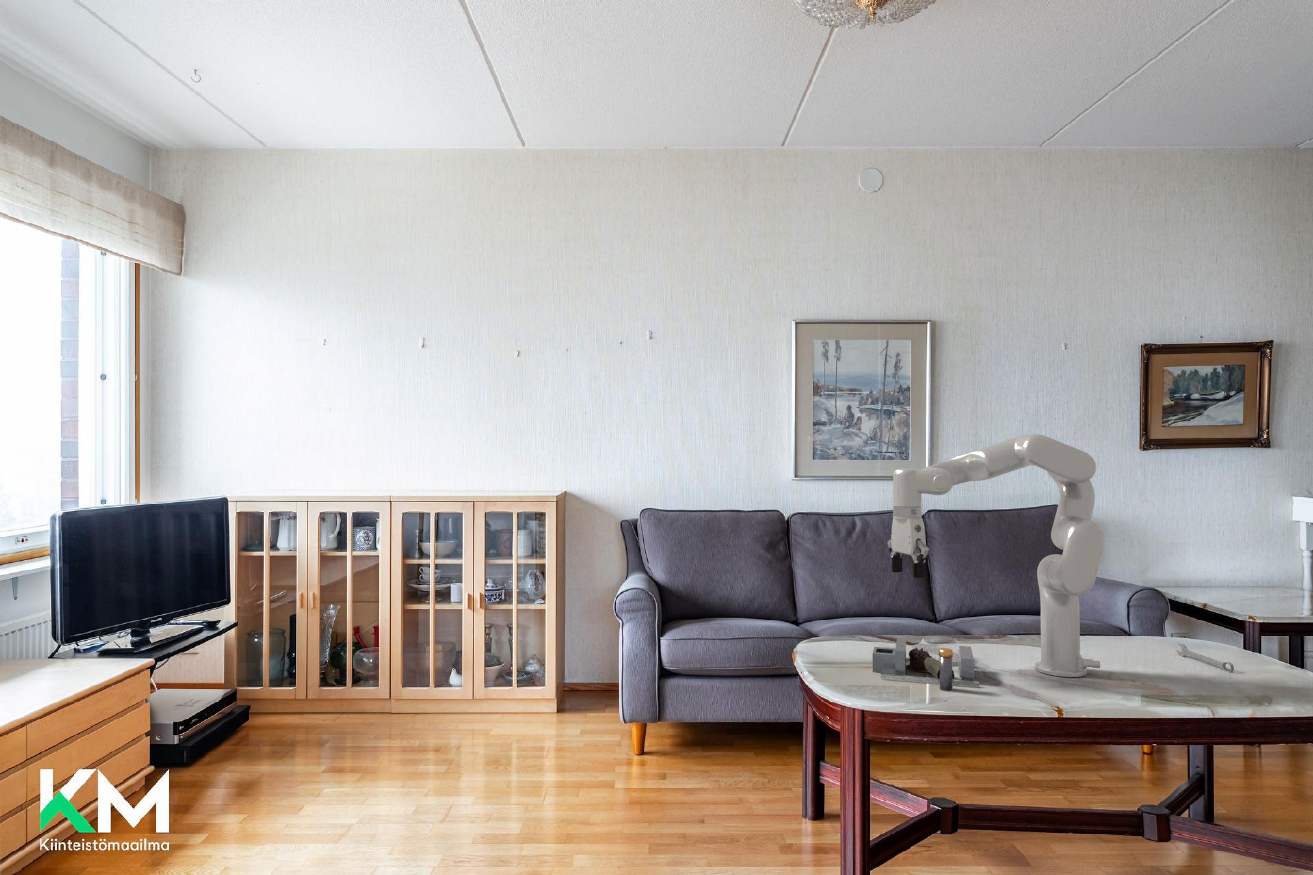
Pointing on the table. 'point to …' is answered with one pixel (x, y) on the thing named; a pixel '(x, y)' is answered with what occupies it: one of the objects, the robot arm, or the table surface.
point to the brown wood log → (924, 662)
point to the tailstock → (890, 659)
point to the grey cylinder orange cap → (945, 669)
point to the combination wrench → (1204, 658)
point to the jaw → (966, 663)
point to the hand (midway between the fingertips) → (907, 574)
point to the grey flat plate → (929, 680)
